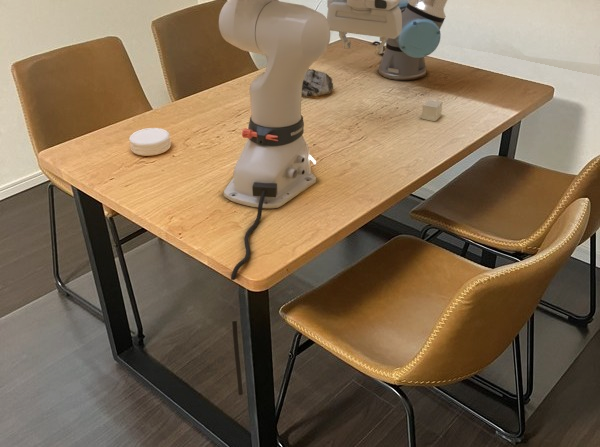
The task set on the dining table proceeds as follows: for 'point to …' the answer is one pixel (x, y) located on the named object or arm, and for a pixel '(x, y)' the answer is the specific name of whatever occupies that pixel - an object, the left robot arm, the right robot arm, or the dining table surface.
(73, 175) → the dining table surface
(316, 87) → the rock
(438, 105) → the light grey cube
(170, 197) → the dining table surface
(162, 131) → the white round disc
